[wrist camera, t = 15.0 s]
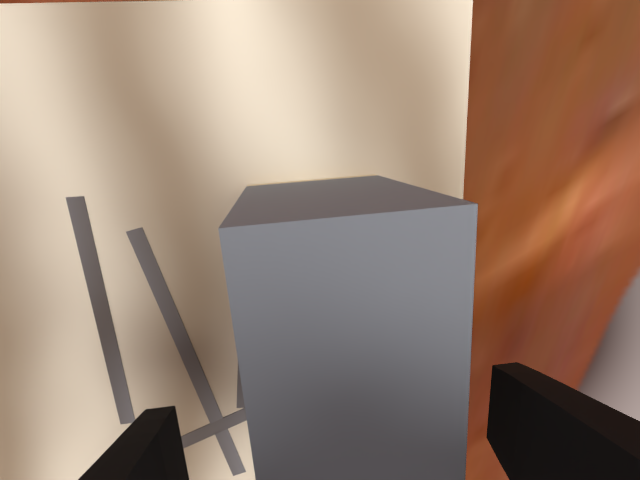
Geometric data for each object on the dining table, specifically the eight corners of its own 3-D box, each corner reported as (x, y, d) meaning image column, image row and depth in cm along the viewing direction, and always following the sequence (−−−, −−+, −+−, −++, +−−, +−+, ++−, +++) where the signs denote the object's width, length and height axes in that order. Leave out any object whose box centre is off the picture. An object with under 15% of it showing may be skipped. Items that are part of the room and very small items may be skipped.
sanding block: (277, 427, 13) (279, 641, 8) (247, 184, 11) (218, 227, 5) (381, 411, 14) (459, 602, 8) (374, 174, 11) (477, 203, 6)
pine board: (-30, 567, 15) (-56, 604, 14) (-261, 25, 10) (-336, 9, 8) (435, 494, 17) (447, 520, 16) (453, 10, 12) (473, -6, 10)
